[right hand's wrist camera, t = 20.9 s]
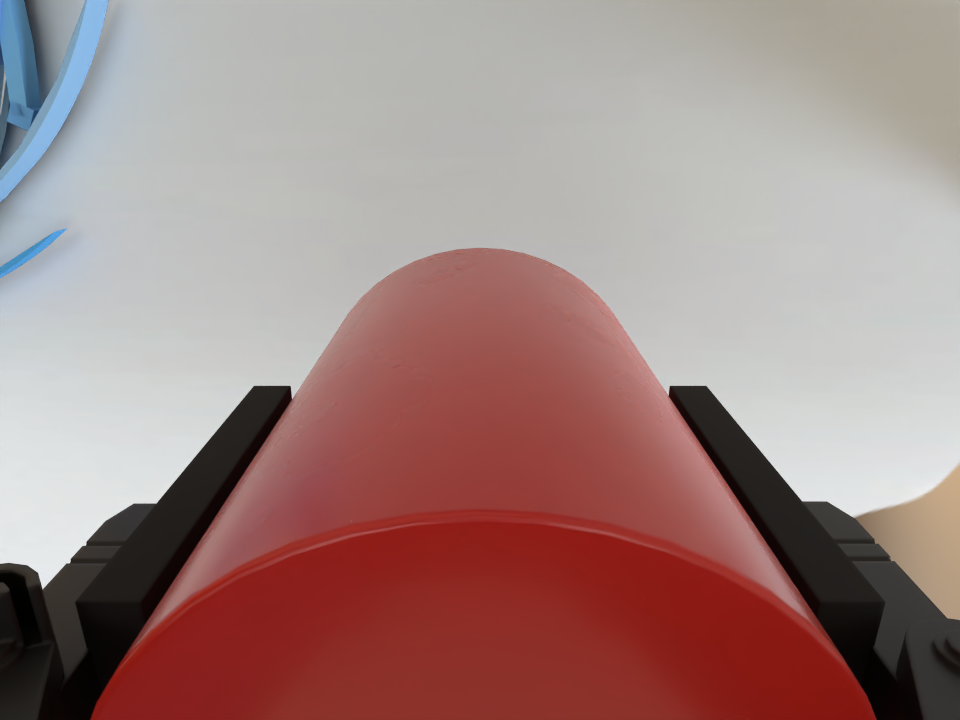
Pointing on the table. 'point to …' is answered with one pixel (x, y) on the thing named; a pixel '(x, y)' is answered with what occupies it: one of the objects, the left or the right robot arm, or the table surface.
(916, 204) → the table surface
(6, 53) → the clock
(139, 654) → the tin
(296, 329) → the table surface
